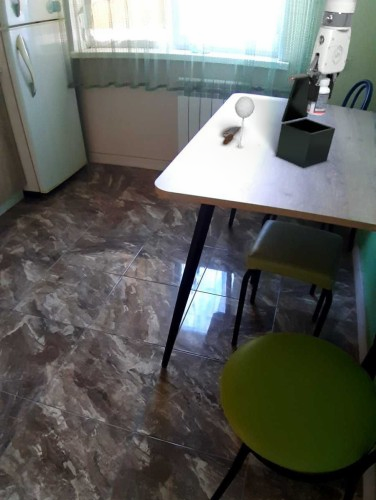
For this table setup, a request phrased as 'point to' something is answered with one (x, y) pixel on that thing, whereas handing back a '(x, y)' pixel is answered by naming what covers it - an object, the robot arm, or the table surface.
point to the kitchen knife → (229, 134)
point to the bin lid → (297, 98)
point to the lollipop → (244, 110)
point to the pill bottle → (320, 99)
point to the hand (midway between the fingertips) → (318, 98)
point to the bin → (304, 142)
